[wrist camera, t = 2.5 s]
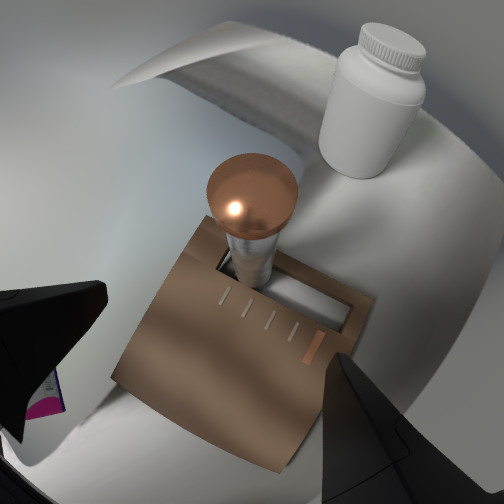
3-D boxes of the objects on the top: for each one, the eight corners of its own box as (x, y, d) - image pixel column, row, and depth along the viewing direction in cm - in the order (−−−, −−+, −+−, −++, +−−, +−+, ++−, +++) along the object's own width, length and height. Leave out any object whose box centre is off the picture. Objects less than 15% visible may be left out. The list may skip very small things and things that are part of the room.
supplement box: (20, 359, 20) (-59, 349, 9) (55, 356, 21) (-33, 346, 10) (31, 411, 18) (-47, 418, 8) (67, 412, 19) (-17, 428, 8)
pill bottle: (311, 123, 29) (334, 8, 15) (374, 129, 29) (417, 29, 15) (322, 180, 26) (366, 51, 12) (392, 183, 27) (461, 79, 12)
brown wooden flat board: (279, 469, 18) (280, 474, 17) (115, 376, 20) (109, 377, 19) (369, 301, 22) (374, 299, 21) (207, 219, 25) (205, 214, 24)
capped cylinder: (262, 303, 22) (272, 246, 10) (223, 282, 23) (189, 205, 11) (282, 265, 24) (311, 174, 11) (244, 246, 24) (235, 142, 12)
